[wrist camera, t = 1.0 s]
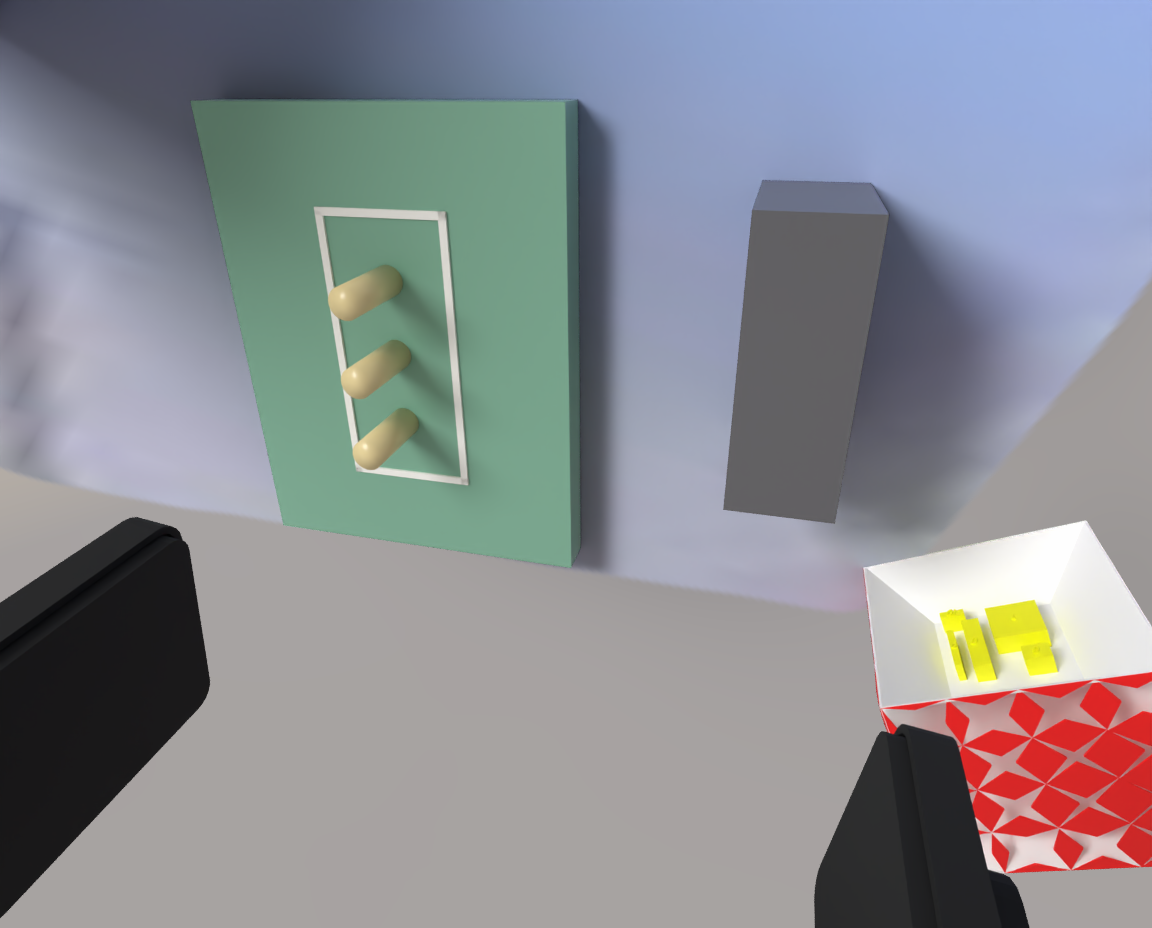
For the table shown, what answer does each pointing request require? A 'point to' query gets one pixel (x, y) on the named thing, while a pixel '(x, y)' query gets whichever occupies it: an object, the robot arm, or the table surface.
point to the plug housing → (802, 345)
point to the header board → (409, 312)
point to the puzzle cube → (1027, 691)
